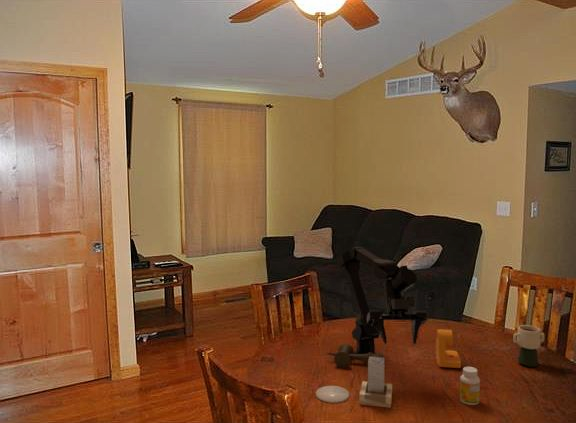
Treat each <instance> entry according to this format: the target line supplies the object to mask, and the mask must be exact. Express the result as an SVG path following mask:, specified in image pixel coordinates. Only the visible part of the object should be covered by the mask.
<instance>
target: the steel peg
mask: <svg viewBox="0 0 576 423" xmlns="http://www.w3.org/2000/svg"><path fill="white" fill-rule="evenodd" d="M367 382H368V393H374V394H383V395H384V383H385V357H383V358H381V357H369V360H368V363H367Z"/></svg>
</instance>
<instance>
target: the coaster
mask: <svg viewBox="0 0 576 423" xmlns="http://www.w3.org/2000/svg"><path fill="white" fill-rule="evenodd" d="M315 396H316V398H317V399H318V400H320V401H322V402H324V403H328V404H338V403H344V402H345V401H347V400H348V399H349V398H350V392H349V391H348V389H347V388H344V387H341V386H337V385H326V386H322V387H319V388H318V389H317V390H316V392H315Z"/></svg>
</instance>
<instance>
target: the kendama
mask: <svg viewBox="0 0 576 423" xmlns="http://www.w3.org/2000/svg"><path fill="white" fill-rule="evenodd" d="M326 355H329V356H333V361H334V364H335V366H336V367H338V368H342V369H343V368H345V369H346V368H349V367H350V365H351V362H352V359H354V360H357V361H361V362H365V363H366V364H368V360H369V357H381V358H384V353H383V352H382V351H380V352H379V353H377V354H373V353H371V352H369V353H367V354H354V349H353V347H352V345H351V344H347V343H342V344H341V345H339V346H338V351H336V352H327V353H326Z"/></svg>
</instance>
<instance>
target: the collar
mask: <svg viewBox="0 0 576 423" xmlns="http://www.w3.org/2000/svg"><path fill="white" fill-rule="evenodd" d="M392 399H393V383H387V382H386V383H385V382H384V395H383V394H374V393H368V381H364V380H363V381H362V383H361V387H360V391H359V405H364V406H372V407H380V408H382V407H383V408H392V401H393V400H392Z"/></svg>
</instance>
